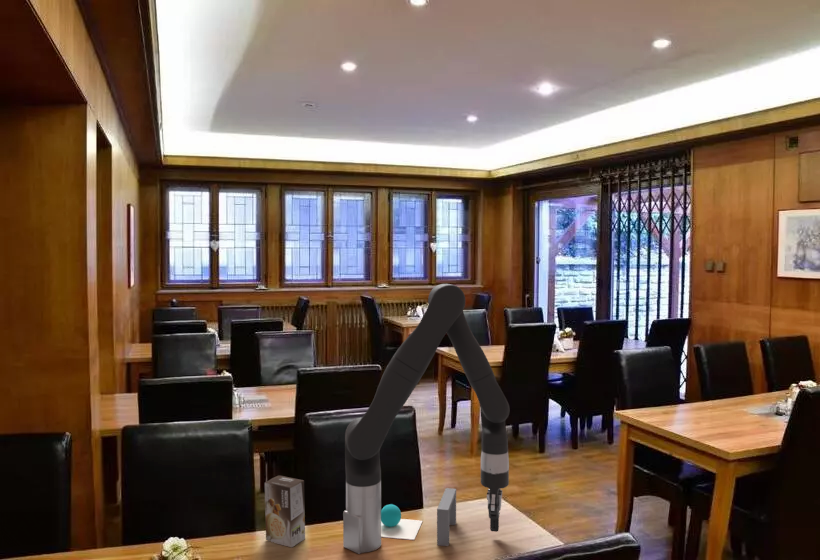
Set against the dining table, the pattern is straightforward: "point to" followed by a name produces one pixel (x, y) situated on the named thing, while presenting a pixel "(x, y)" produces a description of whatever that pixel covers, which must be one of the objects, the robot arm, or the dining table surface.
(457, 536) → the dining table surface
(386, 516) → the ball
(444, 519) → the bridge
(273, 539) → the coffee box
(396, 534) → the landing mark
